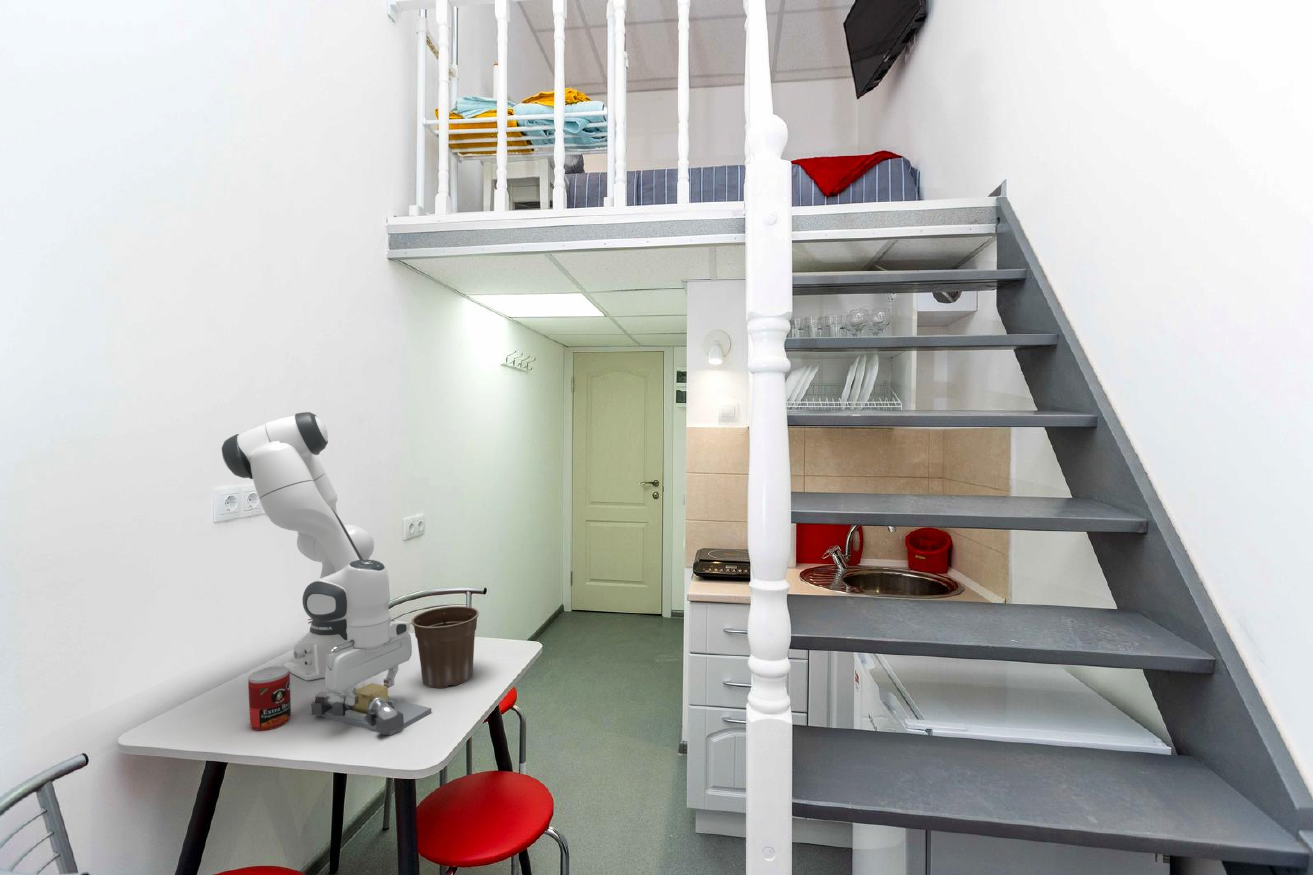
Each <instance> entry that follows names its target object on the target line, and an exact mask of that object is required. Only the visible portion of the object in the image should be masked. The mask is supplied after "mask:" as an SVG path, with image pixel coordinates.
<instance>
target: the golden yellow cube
mask: <svg viewBox="0 0 1313 875" xmlns="http://www.w3.org/2000/svg"><path fill="white" fill-rule="evenodd" d="M388 689H389V688H387V686H384V684H378V683H374V682H371V683H368V684H366V685H364V686H362V687H360V688H357V689H354V690H355V691H353V694H355V695H359V699H358V700H359V702H358V703H357V704H355V705H353V711H356V712H359V713H363V714H367V711H368V705H369V703H370V702H371V700H373V699H374V698H376V697H379V696H381V697H384V698H385V699H386V700H387V701H388V698H389V695H388V692H389V691H388Z"/></svg>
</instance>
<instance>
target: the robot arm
mask: <svg viewBox="0 0 1313 875" xmlns="http://www.w3.org/2000/svg"><path fill="white" fill-rule="evenodd" d="M328 436H329V434H328V430H327V427H326V425H325V424H324V422H323V421H322V419H320V418H319V417H318V416H317V415H316V414H315V413H313V412H311V411H305V412H298V413H295V414H294V415H290V416H285V417H281V418H277V419H273V420H270V421H267V422H265V423H263V424H261V425H258V426H256V427H253V428H251V429H248V430H246V431H244V432H241V433H239V434H238V433H236V434H234V435H232V436H231V437H229V438H227V439H225V440H224V441H223V444H222V446H221V452H222V453H221V454H222V460H223V462H224V465H226V467H227V468H228V470H229V471H230V472H231V473H232V474H233V475H235V476H237V477H239V478H242V479H250V480H253V484H254V488H255V490H256V493H257V496H258V499H259V501H260V504H261V506H262V509H263V511H264V513H265V514H266V516H267V518H268V519H269V520H270V521H271V523H273V525H275V526H277V527H279V528H281V529H284V530H288V531H294V532H297V538H296V546H297V549H298V551H299V552H300V553H301V554H302V555H303V556H305V557H306V558H308V559H309V560H311V561H313V562H318V563H321V566H322V567H321V573H320V576H319V578H318V579H315V581H313V582H311V583H310V584H308V585H307V586H306V587H305V590H304V591H303V595H302V606H303V610H304V611H305V614H306V615H307V616H308V617H309V619H307V621H309V622H307V624H309V625H310V627H309V632H308V633H306V634H305V635H304V636H303V637H301V639H300V640H298V641H297V642H296V643H295V644H294V647H293V654H292V655H293V659H291V660H288V661H287V662H285V663H284V664H283V666H284V667H288V668H289V672H290V673H291V674H292V675H295V676H297V677H298V678H301V679H302V680H304V681H312V680H318V679H324V686H325V688H326V689H327V690H328V691H329V692H343V693H344V694H345V695H346V697H347V703H348V705H351V706H353V705H355V704H357V703H358V702H359V700H358V699H359V695H355V694H353V692H352V690H355V686H356V685H357V684H361V683H362V682H365V681H367V680H369V679H370V678H371V679H372V677H375V676H377V675H379V674H381V673H384V672H386V671H388V672H387V674H386V678H384V679H383V686H387V688H388V689H389V688H391V687H394V686H395V678H396V675H397V674H398V671H399V665H401V664H404V663H406V662H408V661H410V659H411V657H412V655H413V653H412V652H413V649H412V648H413V645H412V636H411V634H410V628H411V625H410V623H409V622H407V621H403V620H397V619H392V618H391V613H390V610H389V604H390V599H391V593H390V592H391V591H390V581H389V574H388V571H387V568H386V566H385V565H384V563H382V562H381V561H379V560H375V559H370V558H371V556H372V555H373V552H374V548H375V540H374V537H373V535H372V534H371V533H370V532H369V531H367V530H365V529H364V528H362V527H360V526H358V525H356V524H350V523H349V524H348V523H343V521H342V520H341V519H340V517H339V515H338V512H337V502H338V494H337V493H336V490H335V489H334V486H333V485H332V482H331V480H330V478H329V477H328V474H327V472H326V470H325V469H324V466H323V464H322V463H321V461H320V459H319V458H318V457H317V456H319V455H320V454H321V452H322V451H324V450H325V449H326V447H327V445H328V443H329V440H328Z"/></svg>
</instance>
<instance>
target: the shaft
mask: <svg viewBox="0 0 1313 875" xmlns="http://www.w3.org/2000/svg"><path fill="white" fill-rule="evenodd" d="M355 690H356V689H354V690H352V692H353V691H355ZM310 707H311V708H310V709H311V714H310V715H312V716H320V715H323V714H324V713H325V712H327V711H328V710H330V709H331V708H332V707H333V716H343V715H345V711H347V710H351V709H353V706H351V705H348V703H347V697H346V695H345V694H344V693H343V692H342V691H340V692H333V691H318V692H317V693H316V695H315V698H314V701H313V702H312V703H310Z"/></svg>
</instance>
